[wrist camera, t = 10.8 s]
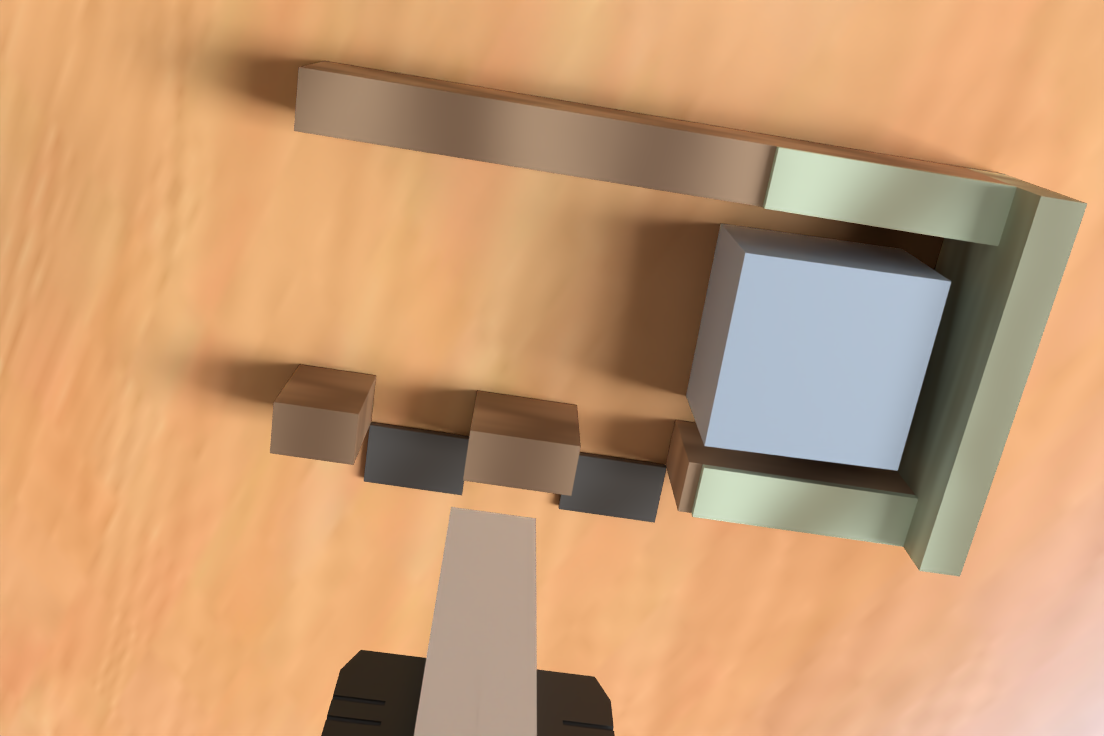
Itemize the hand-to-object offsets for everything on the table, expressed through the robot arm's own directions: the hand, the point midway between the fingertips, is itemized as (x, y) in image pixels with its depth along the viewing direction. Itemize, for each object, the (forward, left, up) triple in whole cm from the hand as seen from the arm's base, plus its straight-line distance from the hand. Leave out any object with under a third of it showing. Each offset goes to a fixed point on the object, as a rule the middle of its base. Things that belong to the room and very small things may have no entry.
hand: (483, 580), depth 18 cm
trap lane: (+5, -1, -22) cm, 22 cm away
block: (+11, 0, -22) cm, 24 cm away
